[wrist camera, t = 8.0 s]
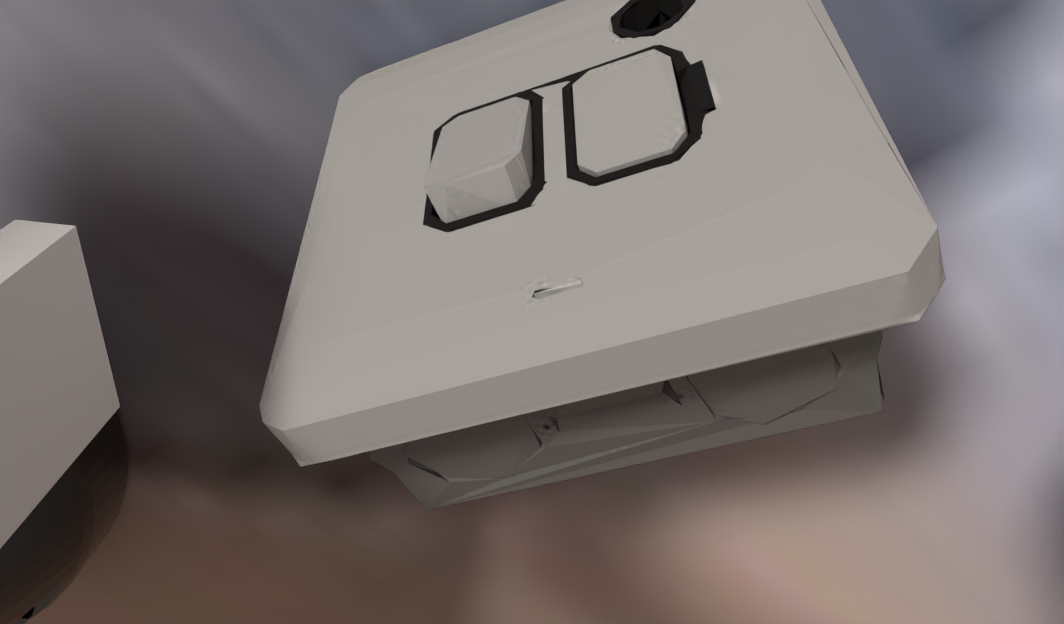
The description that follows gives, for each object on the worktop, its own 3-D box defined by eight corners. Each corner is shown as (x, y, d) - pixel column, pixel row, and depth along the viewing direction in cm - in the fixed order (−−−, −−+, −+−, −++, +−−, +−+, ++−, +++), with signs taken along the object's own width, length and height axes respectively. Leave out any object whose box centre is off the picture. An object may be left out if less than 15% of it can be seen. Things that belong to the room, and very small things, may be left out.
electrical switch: (781, -87, 16) (947, 119, 8) (828, 152, 19) (982, 465, 11) (342, 75, 18) (169, 347, 11) (441, 265, 21) (358, 585, 14)
